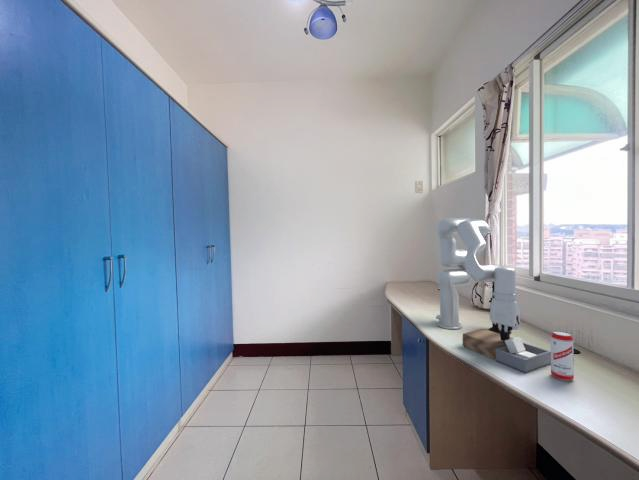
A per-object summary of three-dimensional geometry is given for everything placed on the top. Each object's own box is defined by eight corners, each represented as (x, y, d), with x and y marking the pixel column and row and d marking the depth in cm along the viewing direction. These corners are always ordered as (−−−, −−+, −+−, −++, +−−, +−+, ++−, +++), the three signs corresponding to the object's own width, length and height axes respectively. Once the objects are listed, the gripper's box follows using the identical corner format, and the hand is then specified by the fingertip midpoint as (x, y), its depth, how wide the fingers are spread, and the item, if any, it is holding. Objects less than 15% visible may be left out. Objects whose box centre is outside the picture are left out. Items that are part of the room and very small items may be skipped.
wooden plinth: (462, 346, 131) (462, 333, 131) (483, 341, 137) (483, 328, 136) (497, 360, 116) (496, 345, 116) (518, 353, 122) (518, 339, 122)
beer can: (575, 383, 98) (575, 337, 97) (552, 379, 101) (552, 334, 100) (571, 375, 103) (571, 331, 102) (549, 371, 106) (549, 329, 106)
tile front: (529, 357, 109) (529, 366, 109) (537, 355, 111) (537, 363, 111) (516, 352, 114) (516, 361, 114) (523, 350, 116) (523, 358, 116)
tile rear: (504, 340, 118) (512, 339, 115) (512, 338, 120) (519, 337, 117) (510, 353, 116) (518, 352, 113) (517, 351, 118) (525, 350, 115)
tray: (496, 361, 116) (495, 349, 115) (520, 353, 122) (520, 341, 122) (525, 373, 105) (525, 360, 105) (550, 364, 112) (550, 351, 112)
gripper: (482, 294, 125) (482, 335, 125) (517, 301, 111) (517, 348, 112) (493, 292, 128) (493, 333, 128) (529, 299, 114) (529, 344, 115)
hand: (504, 340), depth 120 cm, fingers closed
